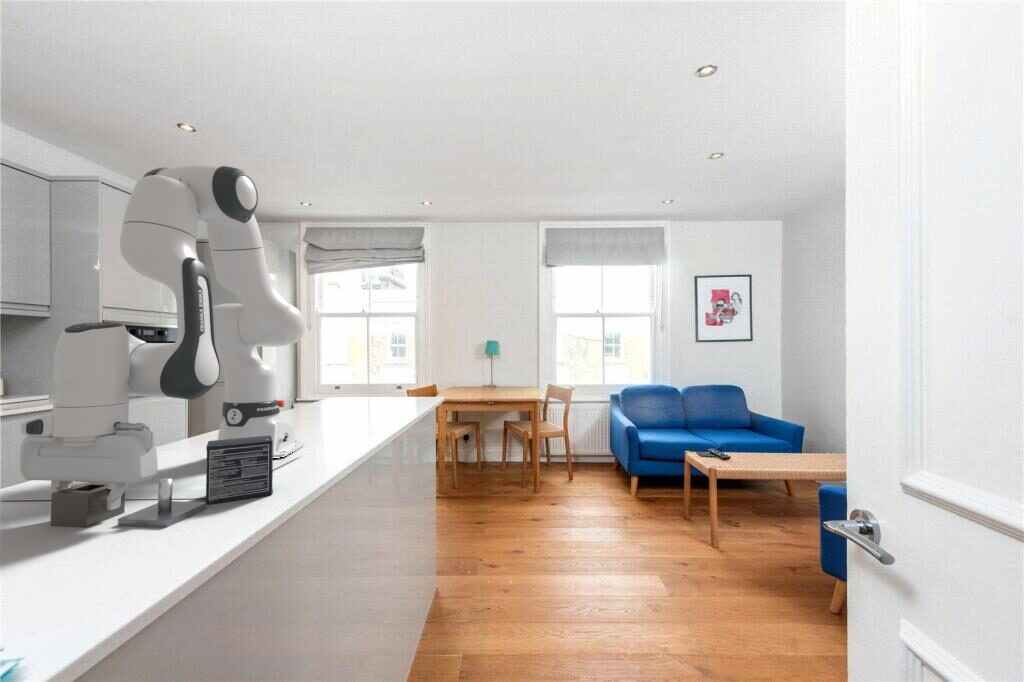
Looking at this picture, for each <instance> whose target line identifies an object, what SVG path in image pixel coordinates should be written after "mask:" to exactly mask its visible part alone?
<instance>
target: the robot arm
mask: <svg viewBox="0 0 1024 682" xmlns="http://www.w3.org/2000/svg"><path fill="white" fill-rule="evenodd" d="M258 200H259V195H258V189H257V187H256V184H255V182H254V181H253V179H252V178H251V177H250V176H249V175H248V174H247V173H246V172H245V171H244V170H242V169H240V168H237V167H233V166H226V165H222V166H216V165H215V166H214V165H213V166H212V165H201V164H200V165H195V164H194V165H188V166H187V165H186V166H177V167H170V168H169V167H159V168H155V169H151V170H150V171H147V172H146V173H145V174H144V175H143V176H142V178H140V179H139V180H137V182H136V183H135V185H134V187H133V189H132V192H131V194H130V196H129V199H128V202H127V204H126V208H125V213H124V216H123V219H122V220H123V221H122V227H121V232H120V233H121V234H120V238H119V246H120V253H121V256H122V259H124V261H125V262H126V264H128V266H129V267H131V268H132V269H133V270H134V271H136V272H137V273H138V274H139V275H142V276H144V277H145V278H147V279H148V278H149V279H150V280H153V281H155V282H158V283H160V284H163V285H164V286H166V287H167V288H169V289H170V290H171V291H172V293H173V295H174V298H175V301H176V323H177V337H176V338H177V339H176V340H175V342H174V343H154V342H153V343H151V342H148V343H147V341H145V340H142V339H140V338H137V337H136V336H134V335H132V334H131V333H130V332H129V331H128V330H127V328H126V325H125V324H122V323H120V322H113V321H112V322H111V321H105V322H104V321H101V322H84V323H83V322H82V323H77V324H76V323H75V324H73V325H70V326H68V327H66V328H64V329H63V330H62V331H61V333H60V335H59V337H58V340H57V344H56V348H55V353H54V364H53V367H54V368H53V369H54V370H53V379H54V382H55V386H56V396H55V398H54V400H53V403H52V412H51V413H47V414H45V415H41V416H39V417H35V418H33V419H32V418H31V419H29V420H26V421H23V422H22V423H21V425H20V432H21V434H22V435H23V436H26V437H24V438H23V440H22V441H21V444H20V452H19V453H20V454H19V455H20V456H19V471H20V474H21V475H22V477H23V478H24V479H25V480H27V481H44V482H45V481H49V482H50V487H51V490H52V491H53V493H54V492H57V491H61V490H64V489H67V488H71V487H72V485H71V484H73V483H74V482H80V483H81V482H83V483H88V482H107V483H108V489H111V491H110V493H109V495H108V497H107V498H105V499H102V509H103V510H114V509H117V508H119V507H120V505H121V496H122V495H123V493H124V492H125V493H126V490H127V488H128V487H129V484H138V483H141V482H145V481H148V480H151V479H153V478H154V477H155V476H156V475H157V473H158V469H159V466H158V464H159V463H158V455H157V453H158V452H157V445H156V442H155V438H154V437H155V433H154V431H153V430H152V429H151V428H150V427H149V426H147V424H145V423H142V422H136V423H131V422H129V418H130V417H129V413H130V412H129V411H130V399H129V396H136V397H137V396H139V397H140V396H142V397H156V398H166V397H167V398H173V399H181V400H196V399H199V398H201V397H203V396H204V395H205V394H207V393H208V392H210V390H212V389H213V387H215V385H216V384H217V382H218V381H219V379H220V374H221V364H222V368H223V372H224V373H223V374H224V401H223V402H222V407H221V412H222V413H221V416H222V417H223V420H222V422H221V423H220V424H219V428H218V434H217V435H218V436H217V440H225V439H236V438H247V437H258V436H269V435H270V436H271V437H272V440H273V457H282V456H286V455H288V454H290V453H291V454H293V453H295V452H296V451H298V450H300V449H301V448H302V447H305V443H304V442H303V441H301V440H300V441H299V440H295V436H296V435H295V427H294V425H293V424H292V423H291V422H290V421H288V420H287V419H286V418H285V417H283V416H282V415H281V414H280V413H281V410H280V408H285V406H286V401H285V399H276V398H277V397H276V392H277V389H276V386H277V373H276V370H275V368H274V367H273V366H272V365H271V364H269V363H268V362H266V361H264V360H263V359H262V358H261V357H260V355H259V352H258V347H269V348H270V347H271V348H272V347H273V348H274V347H283V346H288V345H294V344H296V343H298V342H299V341H300V340H301V339H302V338H303V336H304V334H305V329H306V321H305V318H304V316H303V314H302V312H301V311H300V309H299V308H297V307H295V306H294V305H292V304H291V303H290V302H288V301H287V300H286V299H285V298H284V297H283V296H282V295H281V293H280V292H279V291H278V289H277V288H276V286H275V284H274V283H273V280H272V277H271V275H270V271H269V267H268V262H267V258H266V254H265V248H264V243H263V238H262V234H261V232H260V231H261V230H260V227H259V225H258V221H257V219H256V217H255V212H256V209H257V206H258V204H259V203H258ZM199 221H205V223H206V231H207V238H208V245H209V249H210V255H211V259H212V264H213V269H214V273H215V278H216V280H217V282H218V284H220V285H221V287H223V288H225V289H227V290H229V291H230V292H232V293H234V294H235V296H236V297H237V298H238V299H239V300H240V302H241V303H234V302H233V303H232V302H231V303H221V304H216V305H214V304H213V303H214V302H213V292H212V290H213V289H212V282H211V276H210V273H209V270H208V268H207V266H206V265H205V264H204V263H203V262H201V261H200V259H199V257H198V253H197V239H198V238H197V237H198V224H199V223H198V222H199ZM294 451H295V452H294ZM292 452H293V453H292ZM291 454H290V455H291ZM288 456H289V455H288Z"/></svg>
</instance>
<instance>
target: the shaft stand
mask: <svg viewBox="0 0 1024 682" xmlns="http://www.w3.org/2000/svg"><path fill="white" fill-rule="evenodd" d="M157 483H158V485H157V486H158V487H157V503H155V504H152V505H149V506H146V507H144V508H142V509H138V510H137V511H134V512H132V513H129V514H126V515H124V516H122V517H119V518H118V519H117V526H123V527H125V526H126V527H127V526H128V527H151V528H153V527H154V528H168V527H171V526H173V525H175V524H178V523H179V522H181V521H183V520H186V519H187V518H190V517H191V516H193V515H196V514H198V513H200V512H202V511H204V510H206V509H207V506H208V505H207V502H205V501H204V502H202V501H178V500H177V501H174V500H173V478H172V477H167V478H166V477H165V478H161V479H158V481H157Z"/></svg>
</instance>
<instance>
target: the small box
mask: <svg viewBox="0 0 1024 682" xmlns="http://www.w3.org/2000/svg"><path fill="white" fill-rule="evenodd" d="M205 448H206V449H205V450H206V469H205V470H206V471H205V472H206V475H205V476H206V478H205V480H206V483H205V501H204V502H207V506H209V505H214V504H221V503H227V502H234V501H239V500H241V501H242V500H247V499H253V498H260V497H266V496H267V497H268V496H272V495H273V494H274V489H273V475H274V474H273V472H274V471H273V470H274V469H273V464H274V463H273V462H274V461H273V460H274V459H273V440H272V437H271V436H270V435H269V436H258V437H247V438H236V439H225V440H218V439H216V440H215V439H214V440H208V442H207V444H206V447H205Z"/></svg>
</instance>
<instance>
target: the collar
mask: <svg viewBox="0 0 1024 682" xmlns="http://www.w3.org/2000/svg"><path fill="white" fill-rule="evenodd" d="M110 491H111V489H108V483H107V482H83V483H82V484H77V485H75V486H71V488H67V489H64V490H61V491H57V492H54V491H53V492H52V493H51V500H50V501H51V502H50V503H51V506H50V526H51V527H73V528H74V527H76V528H88V527H91V526H93V525H97V524H98V523H101V522H103V521H107V520H109V519H111V518H113V517H116V516H119V515H122V514H123V513H125V512H126V511H125V507H126V505H125V504H126V499H125V498H126V497H125V496H126V491H125V492H124V493H123V495H122V496H121V505H120V507H119V508H117V509H114V510H103V509H102V499H105V498H107V497H108V495H109V493H110Z"/></svg>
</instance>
